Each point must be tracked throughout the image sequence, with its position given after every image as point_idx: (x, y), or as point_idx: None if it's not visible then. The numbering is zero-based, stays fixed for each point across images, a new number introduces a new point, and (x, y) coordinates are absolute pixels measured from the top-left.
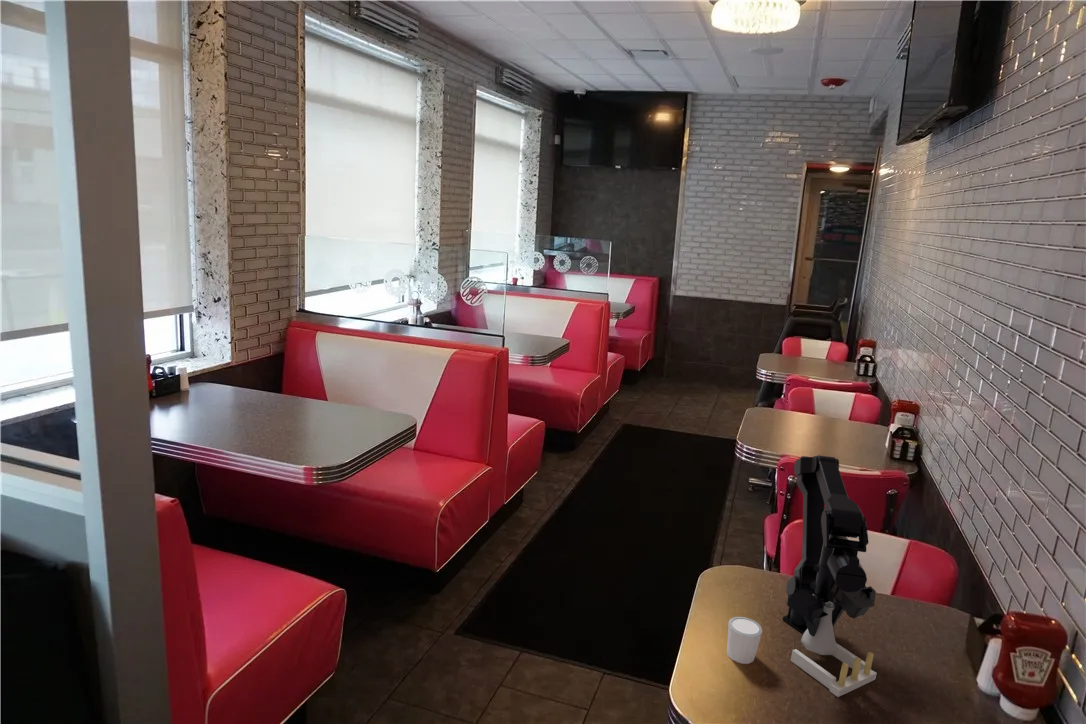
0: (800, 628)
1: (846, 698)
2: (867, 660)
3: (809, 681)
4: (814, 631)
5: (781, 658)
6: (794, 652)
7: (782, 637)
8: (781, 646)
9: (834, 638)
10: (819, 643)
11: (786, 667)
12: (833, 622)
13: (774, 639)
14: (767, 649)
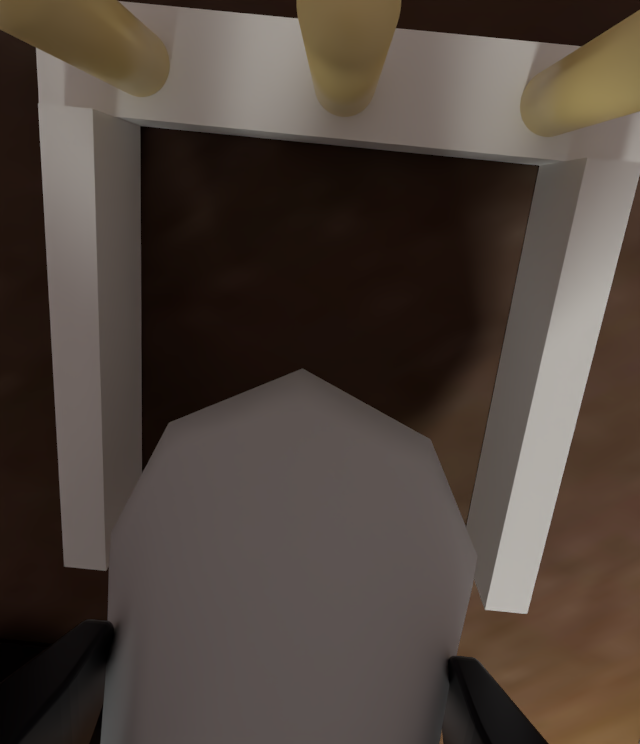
0: None
1: (576, 14)
2: (103, 13)
3: (618, 338)
4: (545, 740)
5: None
6: (530, 589)
7: None
8: None
9: (177, 503)
10: (432, 545)
11: (599, 522)
12: (47, 717)
13: None
14: (517, 687)
